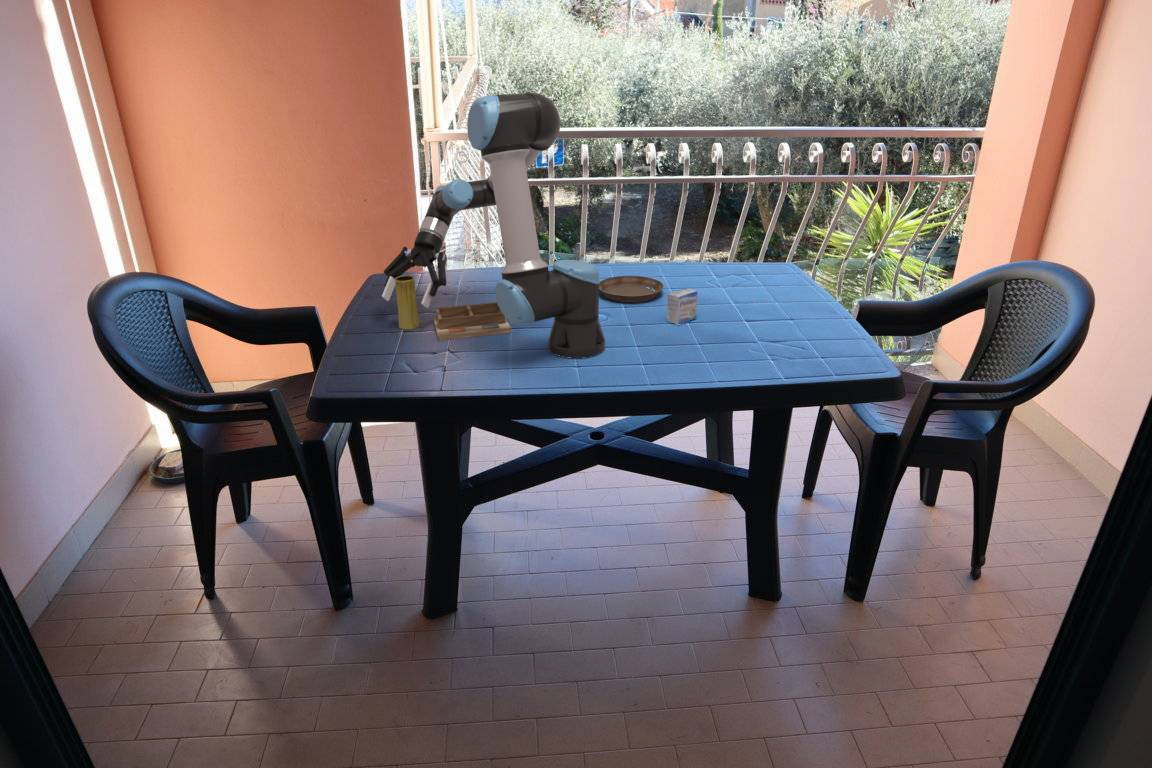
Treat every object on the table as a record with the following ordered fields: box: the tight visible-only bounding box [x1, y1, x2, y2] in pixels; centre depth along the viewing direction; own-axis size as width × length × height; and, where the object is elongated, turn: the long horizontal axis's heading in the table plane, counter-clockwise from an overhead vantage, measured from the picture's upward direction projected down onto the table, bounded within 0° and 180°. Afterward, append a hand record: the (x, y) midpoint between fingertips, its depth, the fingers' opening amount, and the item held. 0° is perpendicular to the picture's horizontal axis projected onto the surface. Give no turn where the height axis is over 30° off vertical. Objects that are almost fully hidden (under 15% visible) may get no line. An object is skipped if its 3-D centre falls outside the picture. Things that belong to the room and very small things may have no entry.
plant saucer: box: [599, 275, 665, 303], centre depth 246 cm, size 21×21×3 cm
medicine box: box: [666, 287, 699, 325], centre depth 224 cm, size 8×4×9 cm, turn 129°
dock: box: [433, 301, 512, 341], centre depth 221 cm, size 14×20×4 cm
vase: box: [395, 274, 421, 331], centre depth 220 cm, size 6×6×14 cm
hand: (404, 302), depth 220 cm, fingers open, 13 cm apart
